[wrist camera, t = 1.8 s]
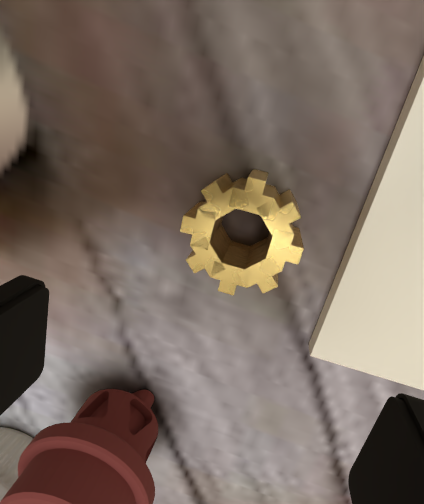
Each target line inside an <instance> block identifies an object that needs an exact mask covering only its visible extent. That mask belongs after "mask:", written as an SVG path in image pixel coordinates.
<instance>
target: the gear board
mask: <svg viewBox="0 0 424 504" xmlns="http://www.w3.org/2000/svg"><path fill="white" fill-rule="evenodd" d="M309 350H310V356H312V357H316V358H319V359H322V360H326V361H329V362H332V363H335V364H339V365H342V366H345V367H349V368H352V369H355V370H358V371H362V372H365V373H368V374H372V375H375V376H378V377H381V378H385V379H388V380H391V381H395V382H398V383H401V384H404V385H408V386H411V387H414V388H418V389H421V390H424V56H423V58H422V61H421V63H420V66H419V68H418V71H417V73H416V76H415V78H414V81H413V83H412V86H411V88H410V91H409V93H408V96H407V98H406V101H405V103H404V106H403V108H402V111H401V114H400V116H399V119H398V121H397V124H396V126H395V129H394V131H393V134H392V136H391V139H390V141H389V144H388V146H387V149H386V151H385V154H384V156H383V159H382V161H381V164H380V166H379V169H378V171H377V174H376V176H375V179H374V181H373V184H372V186H371V189H370V191H369V194H368V196H367V199H366V201H365V204H364V206H363V209H362V211H361V214H360V216H359V219H358V221H357V224H356V226H355V229H354V231H353V234H352V236H351V239H350V241H349V244H348V246H347V249H346V251H345V254H344V256H343V259H342V261H341V264H340V266H339V269H338V271H337V274H336V276H335V279H334V281H333V284H332V286H331V289H330V291H329V294H328V297H327V299H326V302H325V304H324V307H323V309H322V312H321V314H320V317H319V319H318V322H317V324H316V327H315V329H314V332H313V334H312V337H311V339H310V342H309Z"/></svg>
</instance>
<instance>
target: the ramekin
mask: <svg viewBox="0 0 424 504" xmlns="http://www.w3.org/2000/svg"><path fill="white" fill-rule="evenodd" d="M33 439H34V438H32V437H31V436H29V435H27V434H25V433H23V432H20V431H17V430H14V429H10V428H4V427H0V501H1V500H2V499H3V497H4V496H5V495H6V493H7V492H8V491H9V489H10V488H11V487H12V485H13V484H14V483H15V481H16V480H17V479H18V462H19V459H20V456H21V454H22V453H23V451H24V450H25V449H26V447H27V446H28V445H29V444H30V442H31V441H32V440H33Z"/></svg>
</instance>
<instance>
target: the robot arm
mask: <svg viewBox="0 0 424 504" xmlns="http://www.w3.org/2000/svg"><path fill="white" fill-rule="evenodd" d="M48 302H49V290H48V289H47V288H45V284H44V282H43V281H40V280H37V279H34V278H31V277H28V276H24V275H21V276H18V277H16V278H14V279H12V280H10V281H9V282H7V283H5V284H3V285H1V286H0V415H1V414H2V413H3V412H4V411H5V410H6V409H7V408H8V407H10V406H11V405H12V404H13V403H14V402H15V401H16V400H17V399H18V398H19V397H20V396H21V395H22V394H23V393H24V392H25V391H26V390H27V389H28V388H29V387H30V386H31V385H32V384H33V383H34V382H35V381H36V380H37V379H38V378H39V376H40V375H41V373H42V371H43V368H44V358H45V344H46V330H47V316H48ZM349 490H350V495H351V500H352V504H424V400H422V399H418V398H415V397H412V396H409V395H406V394H402V393H401V394H398V395H397V396H396V397H390V398H389V399H388V400H387V402H386V404H385V405H384V407H383V409H382V411H381V413H380V415H379V417H378V419H377V421H376V423H375V424H374V426H373V428H372V430H371V432H370V434H369V436H368V438H367V440H366V442H365V443H364V445H363V447H362V449H361V451H360V453H359V455H358V457H357V459H356V461H355V463H354V464H353V466H352V468H351V470H350V474H349Z"/></svg>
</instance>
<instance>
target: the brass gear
mask: <svg viewBox="0 0 424 504" xmlns="http://www.w3.org/2000/svg"><path fill="white" fill-rule="evenodd" d="M267 176H268V173H267V172H263V171H259V170H256V169H253V171H252V172H251V173H250V175H249V176H248V179H244V178H240V179H238V180H236V181H235V182H232V181H231V179H230V177H229V175H228V174H227V173H226V174H225V175H223V176H221V177H220V178H218V179H217V180H215V181H213V182H212V183H211V184H209V185H208V186H207V187H205V188H204V189H203V190H201V192H202V194H203V195H204V197H205V199H206V201H205V202H201V201H200V202H199V203H197V204H196V205H195V206H194V207H193V208H192V209H190V210H189V211H188V212H187V213H186V214H185V215H184V216H183V220H182V225H181V230H180V232H184V233H187V234H191V235H192V239H191V243H190V246H191V247H192V249H193V251H192V252H191V253H190V255H189V256H188V258H187V259H186V261H187V263H188V264H189V266H190V267H191V269H192V270H193V272H194V273H196V272H198V271H200V270H202V269H204V268H205V270H206V271H207V273H208V274H209V276H210V277H212V278H215V279H219V280H221V281H220V285H219V289H218V291H220V292H224V293H227V294H230V295H234V292H235V289H236V285H239V286H243V287H246V288H248V287H250V286H252V285H254V284H256V283H257V284H258V286H259V288H260V289H261V291H262V293H265V292H267V291H269V290H271V289H274V288H276V287H278V273H279V272H281V271H282V269H283V266H284V263H285V261H287V262H291V263H294V264H298V263H299V261H300V258H301V255H302V252H303V249H304V248H303V243H302V239H301V234H300V230H299V228H297V227H293V223H292V222H294V221H295V220H297V219H299V218H301V216H300V212H299V208H298V205H297V202H296V200H295V198H294V196H293V194H292V193H291V191H290V189H289V190H288V191H286V192H284V193H282V194H280V195H279V193H278V191H277V190H276V188H275V186H271V185H267V184H265V183H266V180H267ZM234 209H239V210H243V211H247V212H250V213H254V214H258V215H260V216H261V217H262V219H263V221H264V222H265V224H266V226H267V228H268V229H269V231H270V232H269V235H268V237H267V238H265V239H263V240H261V241H259V242H258V243H256V244H254V245H252V246H248V245H244V244H240V243H237V242H233V241H231V240H230V238H229V236H228V235H227V233H226V231H225V230H224V228H223V226H222V225H221V223H222V219H223V216H224V215H226V214H227V213H229V212H231V211H233V210H234Z"/></svg>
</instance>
